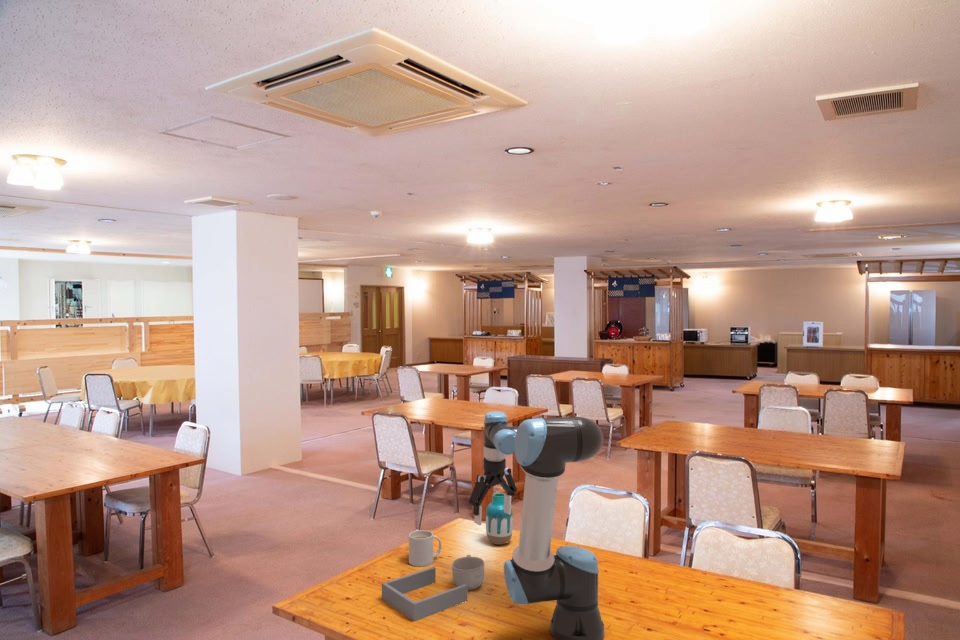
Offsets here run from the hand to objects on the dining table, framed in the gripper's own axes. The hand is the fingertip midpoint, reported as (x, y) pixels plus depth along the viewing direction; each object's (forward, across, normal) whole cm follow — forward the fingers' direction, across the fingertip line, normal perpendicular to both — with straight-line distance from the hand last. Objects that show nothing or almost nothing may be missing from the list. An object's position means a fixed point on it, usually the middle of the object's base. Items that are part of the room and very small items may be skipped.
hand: (492, 518), depth 211 cm
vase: (+24, -22, -20) cm, 38 cm away
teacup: (+20, +10, 0) cm, 23 cm away
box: (+19, +28, -1) cm, 34 cm away
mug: (+23, +10, -25) cm, 35 cm away
